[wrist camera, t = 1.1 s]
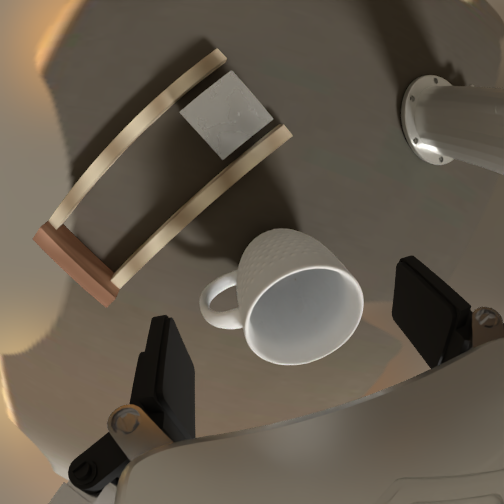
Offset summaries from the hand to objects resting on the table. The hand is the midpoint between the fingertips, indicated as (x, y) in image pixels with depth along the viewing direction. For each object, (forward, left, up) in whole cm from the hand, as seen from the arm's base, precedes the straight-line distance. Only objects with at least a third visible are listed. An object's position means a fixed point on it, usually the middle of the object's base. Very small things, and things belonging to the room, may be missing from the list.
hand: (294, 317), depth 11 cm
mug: (+3, +9, -23) cm, 25 cm away
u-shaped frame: (+6, -7, -23) cm, 25 cm away
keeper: (-4, -7, -23) cm, 25 cm away
